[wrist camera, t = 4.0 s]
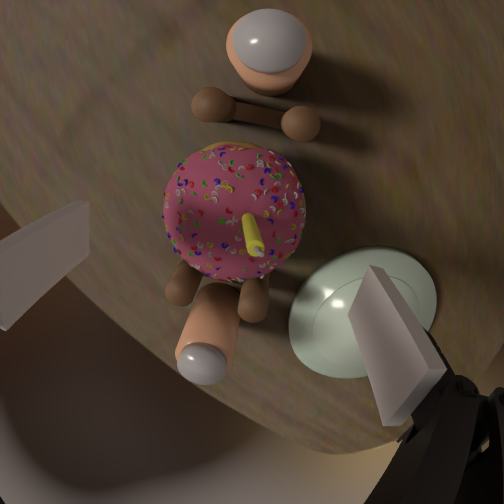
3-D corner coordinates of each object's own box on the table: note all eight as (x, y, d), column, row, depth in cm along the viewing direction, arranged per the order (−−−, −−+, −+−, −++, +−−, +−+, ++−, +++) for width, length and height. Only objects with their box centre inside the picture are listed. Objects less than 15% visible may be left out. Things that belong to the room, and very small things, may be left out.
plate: (270, 359, 28) (270, 369, 27) (316, 227, 22) (319, 234, 21) (391, 374, 28) (394, 383, 27) (453, 265, 23) (461, 272, 21)
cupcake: (269, 117, 19) (266, 107, 8) (317, 223, 22) (357, 322, 11) (164, 172, 21) (68, 226, 10) (217, 265, 24) (178, 378, 13)
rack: (182, 268, 24) (164, 302, 20) (212, 93, 18) (195, 84, 14) (265, 287, 24) (263, 325, 20) (311, 114, 19) (324, 111, 14)
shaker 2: (235, 90, 18) (213, 70, 11) (247, 39, 17) (234, -4, 9) (292, 102, 18) (305, 88, 11) (304, 51, 17) (322, 13, 10)
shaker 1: (194, 315, 26) (170, 380, 19) (199, 277, 25) (172, 341, 17) (237, 325, 26) (226, 393, 19) (246, 288, 25) (236, 356, 17)
